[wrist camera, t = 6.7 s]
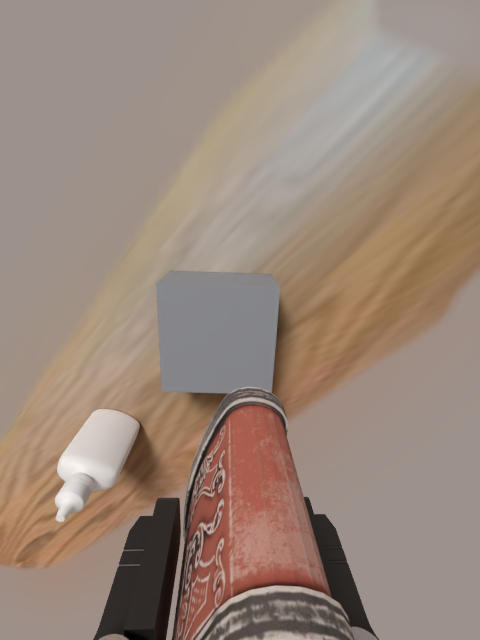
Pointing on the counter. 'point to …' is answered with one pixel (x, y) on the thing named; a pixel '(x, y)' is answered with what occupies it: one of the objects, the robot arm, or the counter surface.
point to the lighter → (251, 535)
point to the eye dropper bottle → (94, 458)
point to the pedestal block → (217, 331)
